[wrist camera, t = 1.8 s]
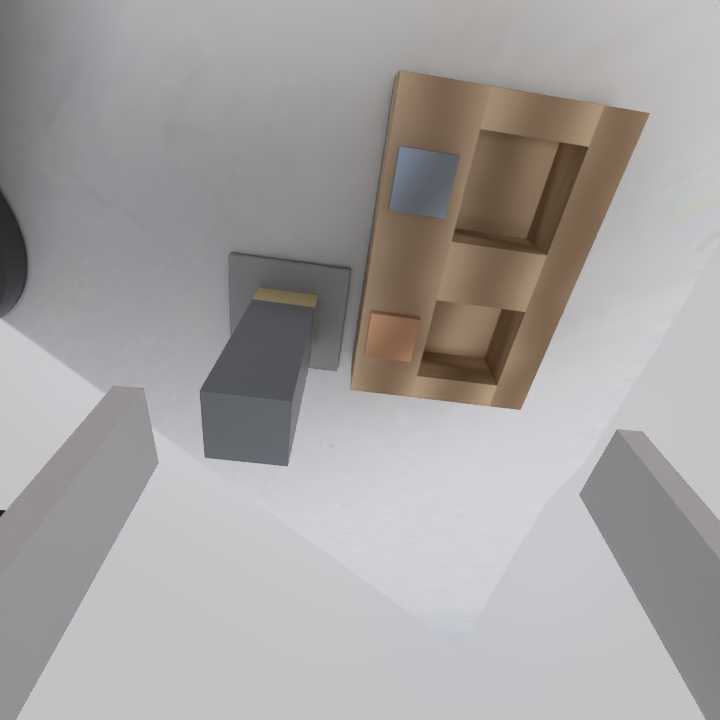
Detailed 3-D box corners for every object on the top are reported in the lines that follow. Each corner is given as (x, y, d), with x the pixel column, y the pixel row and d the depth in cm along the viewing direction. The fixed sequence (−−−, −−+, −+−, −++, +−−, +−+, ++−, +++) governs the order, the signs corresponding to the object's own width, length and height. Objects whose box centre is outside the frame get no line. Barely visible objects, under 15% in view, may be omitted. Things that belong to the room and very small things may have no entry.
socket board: (351, 359, 32) (350, 393, 28) (394, 76, 22) (401, 69, 18) (503, 377, 32) (522, 413, 29) (607, 112, 23) (654, 113, 19)
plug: (258, 338, 30) (204, 457, 20) (259, 287, 28) (199, 390, 18) (313, 345, 30) (287, 466, 20) (317, 295, 28) (292, 401, 18)
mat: (232, 355, 31) (231, 358, 31) (230, 252, 27) (228, 254, 27) (337, 368, 32) (337, 371, 32) (350, 269, 28) (350, 271, 28)
